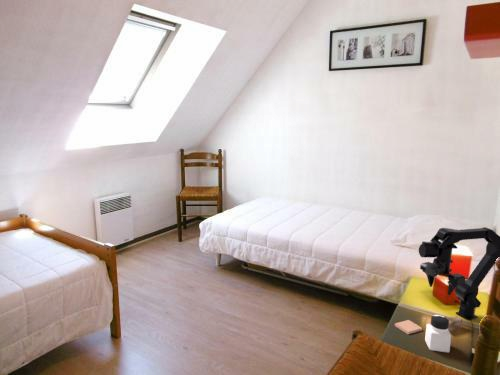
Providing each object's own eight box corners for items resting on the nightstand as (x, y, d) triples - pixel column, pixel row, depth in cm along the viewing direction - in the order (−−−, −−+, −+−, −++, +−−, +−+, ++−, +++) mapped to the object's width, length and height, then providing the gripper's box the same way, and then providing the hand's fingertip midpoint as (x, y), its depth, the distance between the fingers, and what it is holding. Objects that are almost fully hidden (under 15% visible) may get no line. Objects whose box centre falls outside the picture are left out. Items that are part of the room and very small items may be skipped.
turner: (453, 323, 160) (454, 315, 159) (464, 329, 155) (465, 320, 154) (427, 330, 153) (428, 321, 152) (437, 337, 149) (438, 327, 148)
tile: (408, 319, 159) (394, 323, 156) (422, 327, 153) (408, 331, 150) (408, 323, 160) (394, 326, 156) (421, 331, 153) (407, 335, 150)
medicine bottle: (449, 353, 138) (453, 323, 136) (429, 350, 139) (432, 320, 137) (443, 342, 145) (447, 314, 143) (424, 339, 146) (427, 311, 144)
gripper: (413, 252, 167) (409, 285, 169) (450, 267, 150) (445, 302, 152) (430, 249, 171) (427, 281, 174) (468, 263, 154) (463, 298, 157)
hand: (439, 290), depth 164 cm, fingers open, 9 cm apart
